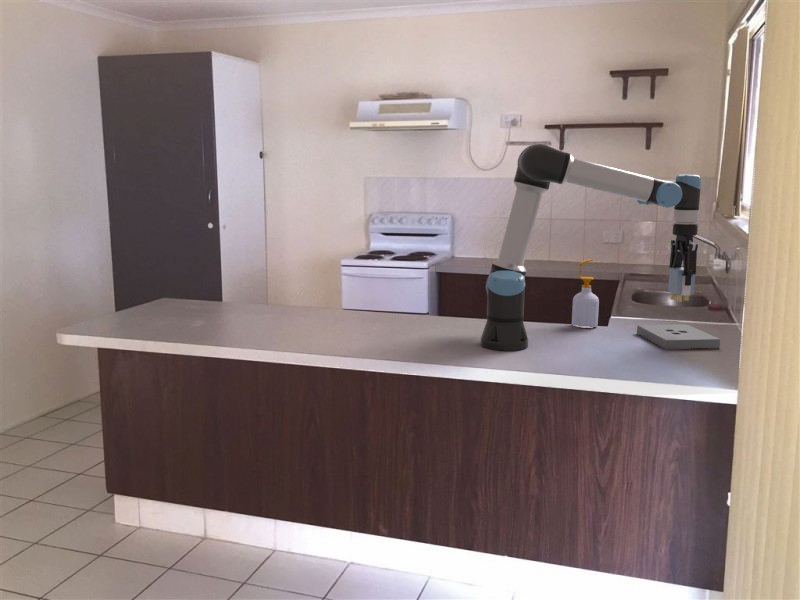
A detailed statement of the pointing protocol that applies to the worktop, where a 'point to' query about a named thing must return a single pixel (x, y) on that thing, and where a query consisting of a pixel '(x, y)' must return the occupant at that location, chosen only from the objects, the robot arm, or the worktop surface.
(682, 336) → the socket plate
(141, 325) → the worktop surface
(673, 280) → the plug
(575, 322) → the soap bottle
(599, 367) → the worktop surface
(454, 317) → the worktop surface
